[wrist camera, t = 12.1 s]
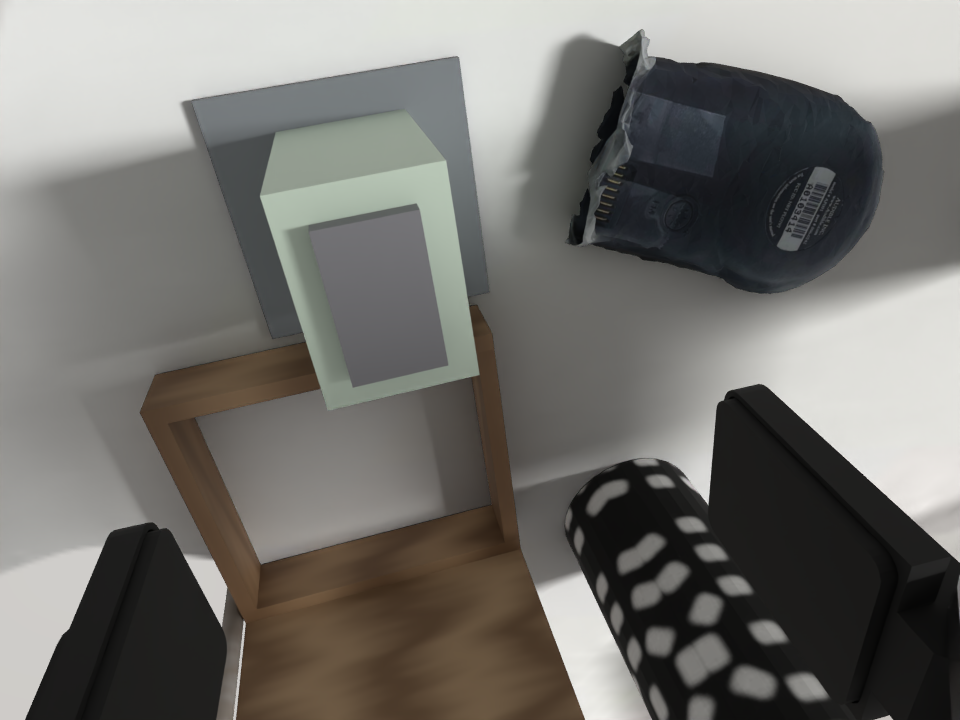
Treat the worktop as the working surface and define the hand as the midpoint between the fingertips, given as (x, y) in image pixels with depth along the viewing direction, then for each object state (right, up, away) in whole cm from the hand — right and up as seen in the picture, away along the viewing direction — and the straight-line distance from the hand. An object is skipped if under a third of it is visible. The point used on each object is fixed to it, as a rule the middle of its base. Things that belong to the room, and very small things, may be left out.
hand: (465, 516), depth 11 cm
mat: (-5, +9, +16) cm, 19 cm away
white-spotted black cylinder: (+9, -7, +29) cm, 31 cm away
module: (-5, +9, +15) cm, 18 cm away
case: (-6, -2, +22) cm, 23 cm away
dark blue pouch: (+12, +11, +20) cm, 25 cm away
